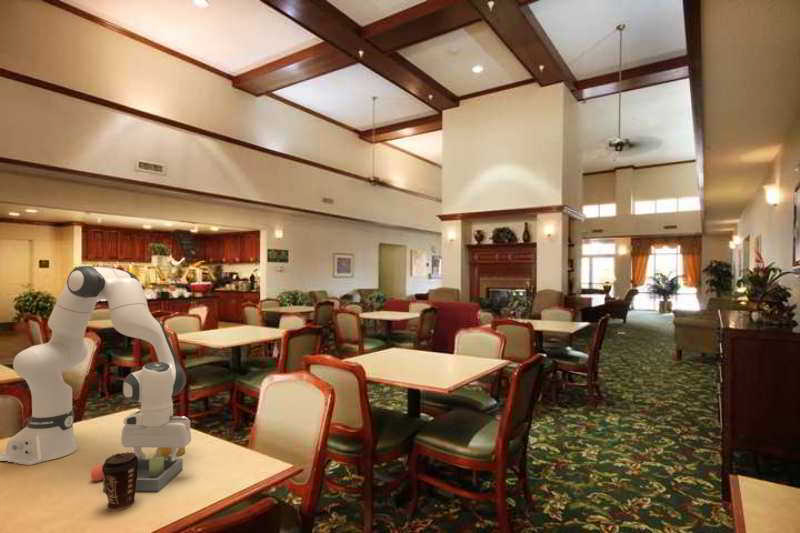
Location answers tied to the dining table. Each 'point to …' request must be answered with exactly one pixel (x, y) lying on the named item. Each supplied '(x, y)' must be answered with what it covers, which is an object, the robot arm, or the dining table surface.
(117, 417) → the dining table surface
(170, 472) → the bin
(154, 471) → the pale green capsule
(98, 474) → the red ball
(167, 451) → the bread roll
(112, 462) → the coffee cup
